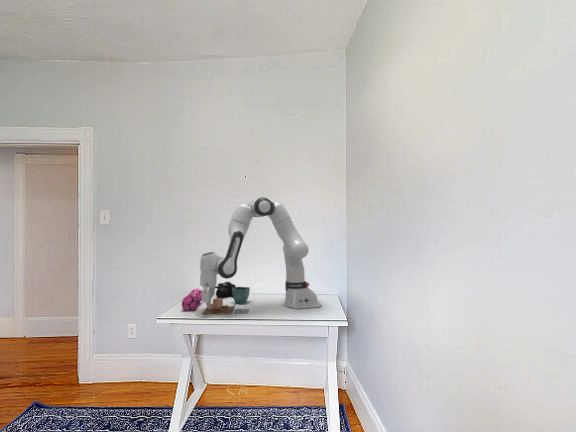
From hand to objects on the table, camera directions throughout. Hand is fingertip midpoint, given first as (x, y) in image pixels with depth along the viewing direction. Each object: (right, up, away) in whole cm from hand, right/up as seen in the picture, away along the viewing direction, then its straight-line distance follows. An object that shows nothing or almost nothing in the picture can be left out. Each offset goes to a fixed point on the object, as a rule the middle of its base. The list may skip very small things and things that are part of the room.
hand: (208, 307), depth 192 cm
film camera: (+2, -4, +39) cm, 39 cm away
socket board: (+5, -3, +5) cm, 8 cm away
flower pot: (+15, -4, +23) cm, 28 cm away
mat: (+18, -3, +2) cm, 18 cm away
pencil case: (-12, -4, +13) cm, 18 cm away
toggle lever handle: (+3, -3, +2) cm, 5 cm away
